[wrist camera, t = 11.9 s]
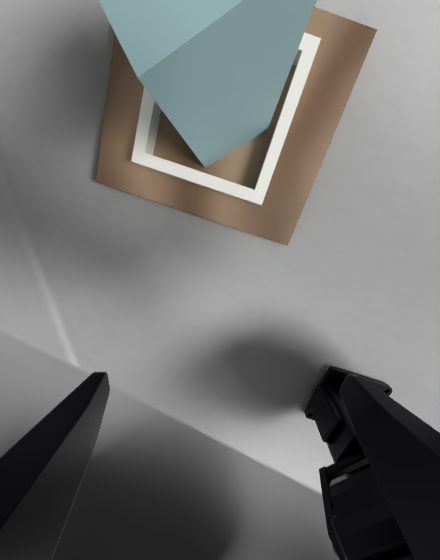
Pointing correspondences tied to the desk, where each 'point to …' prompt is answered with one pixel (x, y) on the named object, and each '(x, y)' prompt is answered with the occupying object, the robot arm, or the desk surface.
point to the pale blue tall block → (212, 63)
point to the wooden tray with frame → (248, 158)
